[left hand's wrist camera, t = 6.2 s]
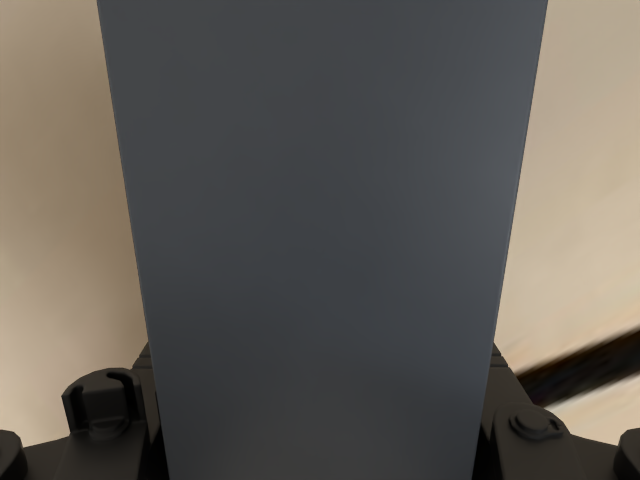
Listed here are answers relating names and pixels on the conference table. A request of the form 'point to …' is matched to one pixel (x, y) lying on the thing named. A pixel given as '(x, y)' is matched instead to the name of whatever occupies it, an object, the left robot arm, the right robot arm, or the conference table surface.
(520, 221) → the conference table surface
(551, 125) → the conference table surface
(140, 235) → the bar
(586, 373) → the conference table surface
